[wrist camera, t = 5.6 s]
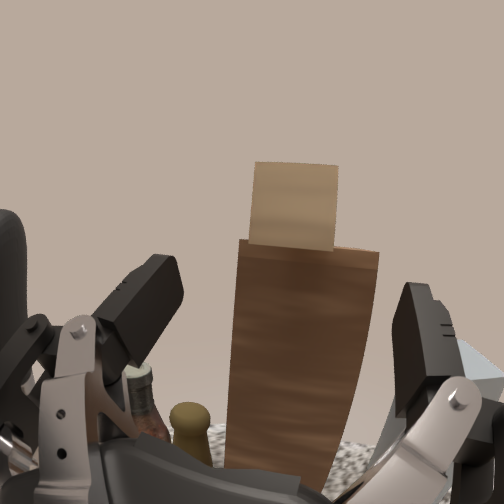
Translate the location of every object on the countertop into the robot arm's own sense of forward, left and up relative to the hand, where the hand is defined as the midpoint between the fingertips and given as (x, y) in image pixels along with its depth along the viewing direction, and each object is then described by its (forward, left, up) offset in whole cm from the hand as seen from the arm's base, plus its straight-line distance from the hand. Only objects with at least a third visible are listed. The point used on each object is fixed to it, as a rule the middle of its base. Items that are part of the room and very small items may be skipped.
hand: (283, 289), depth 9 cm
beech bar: (-5, +11, +1) cm, 13 cm away
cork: (-18, +11, -31) cm, 37 cm away
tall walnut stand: (-7, +16, -31) cm, 35 cm away
